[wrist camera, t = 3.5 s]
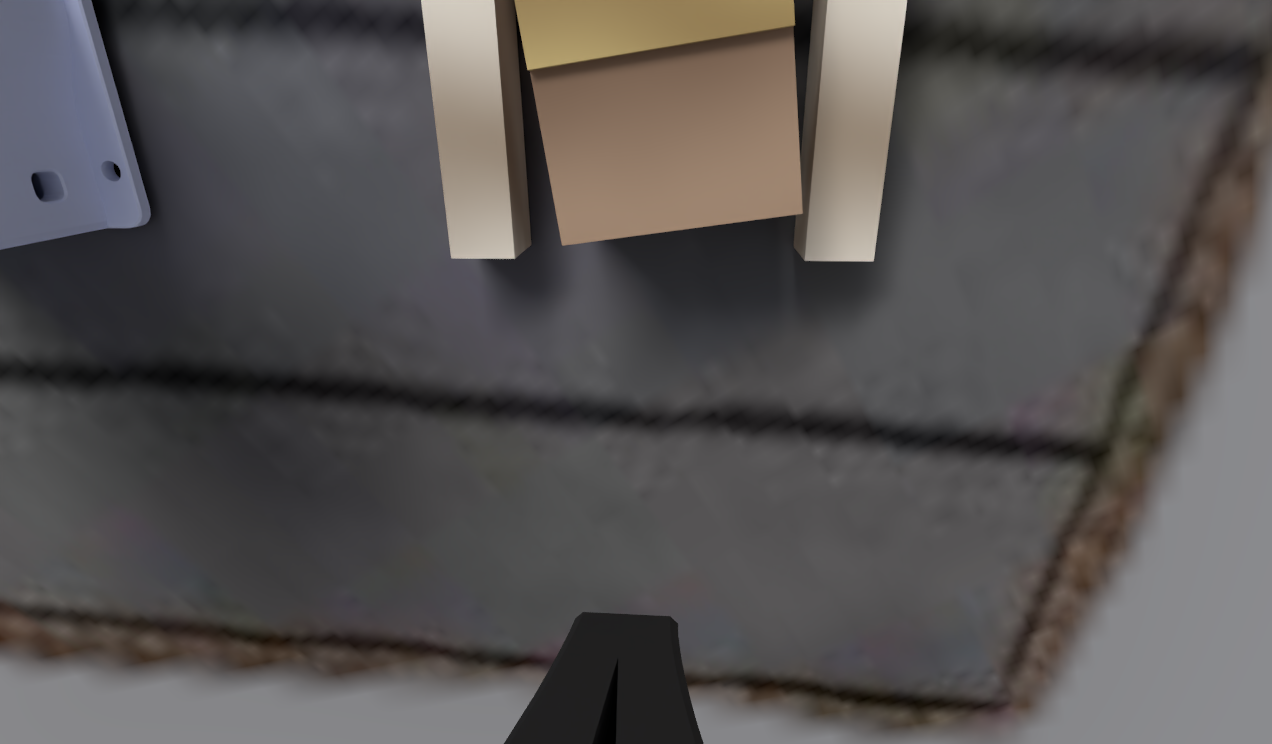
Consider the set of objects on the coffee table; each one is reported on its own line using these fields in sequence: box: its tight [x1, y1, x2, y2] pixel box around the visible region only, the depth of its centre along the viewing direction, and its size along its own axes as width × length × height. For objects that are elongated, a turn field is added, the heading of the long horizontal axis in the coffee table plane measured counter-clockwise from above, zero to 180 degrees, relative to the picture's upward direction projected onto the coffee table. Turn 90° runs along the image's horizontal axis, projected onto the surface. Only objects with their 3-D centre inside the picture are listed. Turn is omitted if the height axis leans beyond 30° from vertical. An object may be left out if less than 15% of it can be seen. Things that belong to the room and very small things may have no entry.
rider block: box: [514, 0, 803, 246], centre depth 14 cm, size 8×5×4 cm, turn 8°
